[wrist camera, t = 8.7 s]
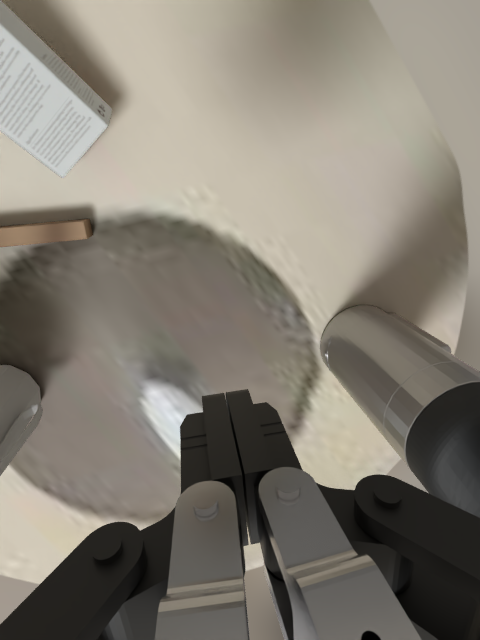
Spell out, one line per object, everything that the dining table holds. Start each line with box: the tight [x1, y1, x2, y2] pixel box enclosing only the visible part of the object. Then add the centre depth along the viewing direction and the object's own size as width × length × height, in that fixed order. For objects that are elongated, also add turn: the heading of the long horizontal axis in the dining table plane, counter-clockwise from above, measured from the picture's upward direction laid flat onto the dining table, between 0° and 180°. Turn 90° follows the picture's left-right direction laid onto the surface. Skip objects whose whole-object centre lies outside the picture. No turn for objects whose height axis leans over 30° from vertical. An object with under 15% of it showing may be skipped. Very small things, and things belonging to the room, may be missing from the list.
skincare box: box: [0, 0, 112, 178], centre depth 26 cm, size 6×4×12 cm
